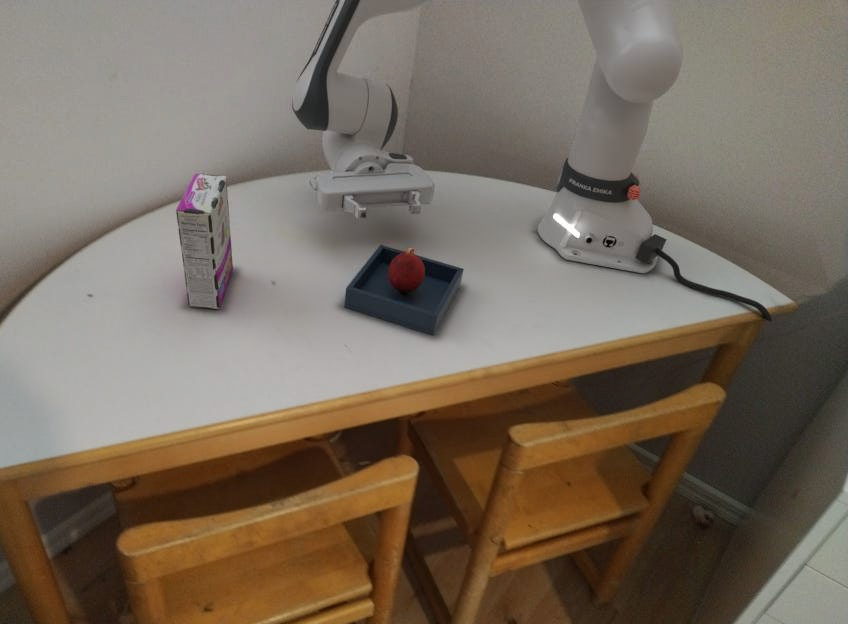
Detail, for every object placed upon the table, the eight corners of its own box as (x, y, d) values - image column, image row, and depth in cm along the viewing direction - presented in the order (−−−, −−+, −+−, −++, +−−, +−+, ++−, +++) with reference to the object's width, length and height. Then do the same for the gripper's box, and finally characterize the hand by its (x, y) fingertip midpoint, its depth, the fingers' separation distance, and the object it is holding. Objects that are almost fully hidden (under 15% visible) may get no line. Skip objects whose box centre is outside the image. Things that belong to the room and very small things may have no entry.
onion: (418, 306, 99) (426, 262, 94) (382, 298, 100) (387, 255, 95) (423, 286, 104) (431, 243, 99) (389, 279, 104) (395, 236, 99)
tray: (459, 286, 106) (463, 268, 104) (433, 335, 96) (437, 316, 93) (378, 262, 109) (380, 244, 107) (344, 307, 99) (345, 288, 96)
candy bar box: (202, 267, 103) (193, 171, 93) (233, 270, 104) (228, 175, 93) (186, 308, 95) (174, 208, 84) (219, 311, 95) (212, 212, 84)
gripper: (307, 160, 108) (329, 198, 98) (419, 154, 114) (449, 190, 104) (306, 194, 112) (327, 234, 102) (414, 187, 118) (443, 224, 108)
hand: (389, 212), depth 103 cm, fingers open, 8 cm apart
